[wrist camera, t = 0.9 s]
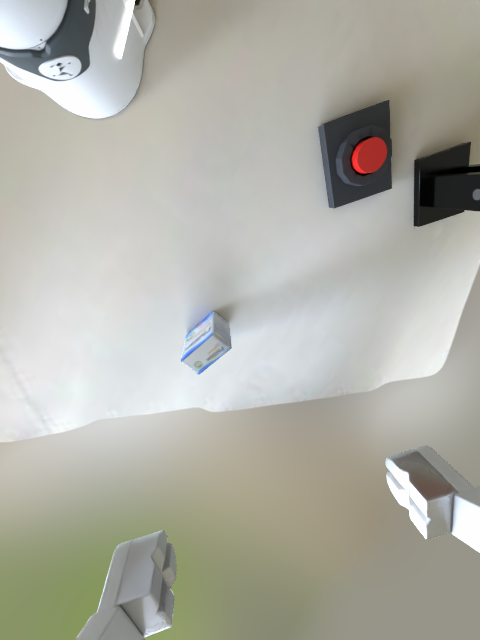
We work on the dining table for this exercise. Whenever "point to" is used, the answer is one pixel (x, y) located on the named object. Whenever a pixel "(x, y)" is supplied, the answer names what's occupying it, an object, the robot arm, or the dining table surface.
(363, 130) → the control block
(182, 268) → the dining table surface
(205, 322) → the medicine box
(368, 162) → the button
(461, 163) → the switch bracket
